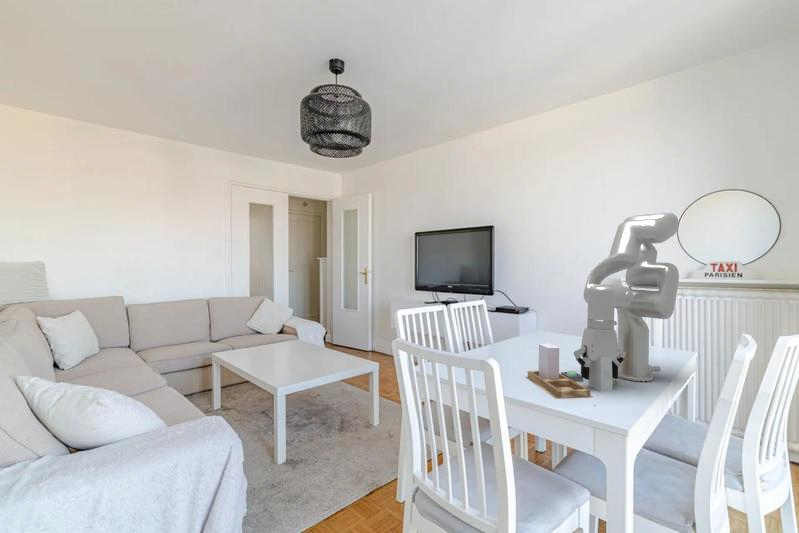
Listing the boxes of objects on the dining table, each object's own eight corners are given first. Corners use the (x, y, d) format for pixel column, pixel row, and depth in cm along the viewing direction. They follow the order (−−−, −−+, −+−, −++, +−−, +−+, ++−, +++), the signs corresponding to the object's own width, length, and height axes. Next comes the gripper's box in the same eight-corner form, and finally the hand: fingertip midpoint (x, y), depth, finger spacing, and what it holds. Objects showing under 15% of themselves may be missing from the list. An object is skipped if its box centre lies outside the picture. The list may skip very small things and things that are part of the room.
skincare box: (613, 394, 115) (613, 356, 115) (601, 395, 114) (601, 357, 114) (598, 387, 121) (599, 351, 121) (586, 388, 120) (587, 352, 120)
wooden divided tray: (557, 379, 130) (557, 370, 130) (593, 400, 110) (593, 390, 110) (524, 380, 128) (525, 371, 128) (555, 402, 108) (555, 391, 108)
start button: (573, 377, 128) (573, 370, 128) (578, 380, 125) (578, 373, 125) (565, 378, 127) (565, 371, 127) (570, 380, 124) (570, 373, 124)
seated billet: (549, 377, 127) (549, 343, 127) (558, 383, 121) (559, 347, 121) (538, 378, 127) (538, 343, 126) (547, 384, 121) (547, 348, 121)
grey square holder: (574, 379, 129) (574, 371, 129) (582, 384, 124) (583, 376, 124) (560, 380, 128) (560, 371, 128) (569, 385, 123) (569, 376, 123)
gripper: (617, 322, 122) (616, 373, 122) (568, 323, 120) (567, 375, 120) (634, 326, 114) (632, 381, 114) (582, 327, 112) (581, 382, 113)
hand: (599, 377), depth 117 cm, fingers open, 9 cm apart
